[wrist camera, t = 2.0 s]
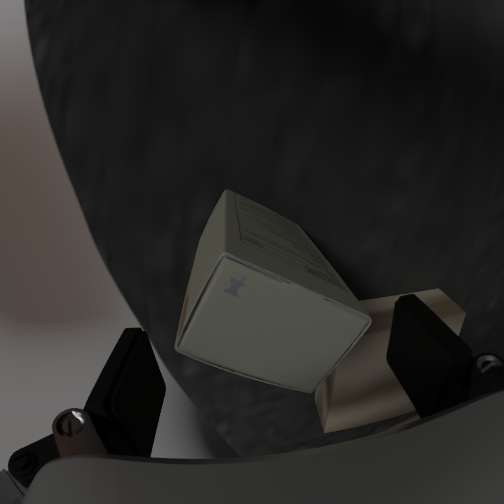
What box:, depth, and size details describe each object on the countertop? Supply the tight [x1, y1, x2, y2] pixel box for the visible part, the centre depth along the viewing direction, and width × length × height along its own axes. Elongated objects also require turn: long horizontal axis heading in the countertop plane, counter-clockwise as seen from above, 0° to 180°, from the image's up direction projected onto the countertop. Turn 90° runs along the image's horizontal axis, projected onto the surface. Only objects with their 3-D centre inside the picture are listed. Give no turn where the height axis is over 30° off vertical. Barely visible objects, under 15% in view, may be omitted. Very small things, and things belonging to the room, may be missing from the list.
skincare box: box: [175, 189, 372, 393], centre depth 15 cm, size 6×4×12 cm
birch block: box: [315, 289, 466, 433], centre depth 24 cm, size 12×12×5 cm
